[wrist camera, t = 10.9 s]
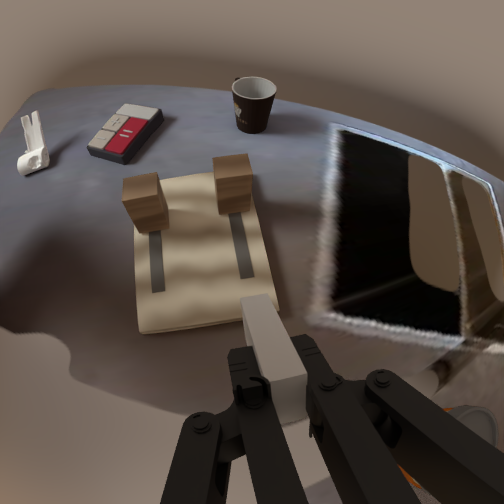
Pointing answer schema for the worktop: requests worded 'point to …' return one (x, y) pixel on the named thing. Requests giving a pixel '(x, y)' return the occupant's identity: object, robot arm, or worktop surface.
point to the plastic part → (33, 146)
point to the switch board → (198, 261)
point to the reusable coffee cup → (470, 427)
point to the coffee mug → (252, 103)
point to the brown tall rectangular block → (145, 202)
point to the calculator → (125, 133)
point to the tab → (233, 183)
